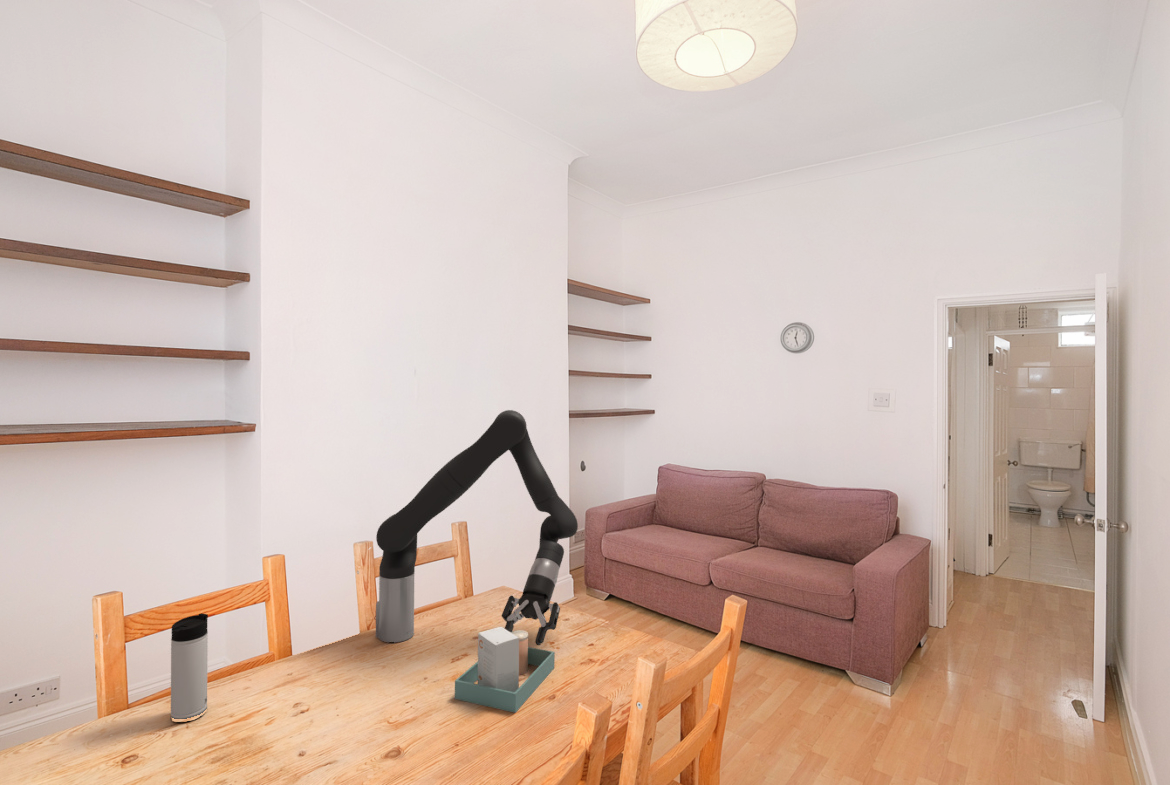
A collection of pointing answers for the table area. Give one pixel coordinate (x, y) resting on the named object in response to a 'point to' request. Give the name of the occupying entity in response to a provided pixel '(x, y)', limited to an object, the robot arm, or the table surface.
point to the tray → (504, 698)
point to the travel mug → (189, 666)
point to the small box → (498, 659)
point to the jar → (522, 650)
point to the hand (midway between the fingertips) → (521, 641)
